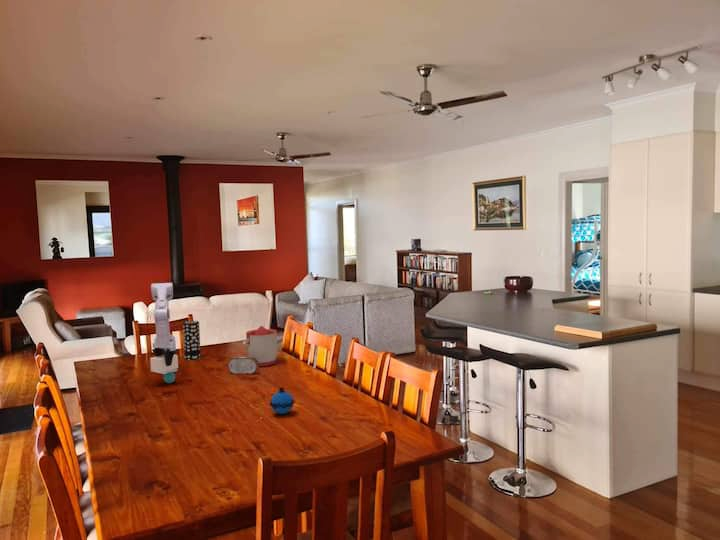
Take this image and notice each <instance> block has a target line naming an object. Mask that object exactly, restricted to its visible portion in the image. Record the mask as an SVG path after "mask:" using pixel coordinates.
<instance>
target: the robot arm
mask: <svg viewBox="0 0 720 540" xmlns="http://www.w3.org/2000/svg"><path fill="white" fill-rule="evenodd" d="M173 286H174V285H173V282H161V283H160V282H159V283H157V282H156V283H154V282H152V283H151V285H150V290H151V297H152V301H155V305H154V310H153V319H154V320H153V321H154V324H155V326H154V327H155V333H156V334H155V338H154V342H153V343H152V349H151V352H153V354H154V357H157V356H161V355H164V357H165V362H166V366H170V365H171V364H172V359H173V356H174V355H176V354H175V353H176V352H177V343H176V337H175V335H172V334H171V332H170V320H171V315H170V314H171V313H170V312H171V311H170V307H169V306H170V305H169V301H171V300H172V299H173V297H174V288H173ZM178 371H179V370H178V369H173V370H169V371H165V372H161V373H159V374H161V375H165V374H166V373H168V372H172V373H174V372H175V373H176V372H178Z"/></svg>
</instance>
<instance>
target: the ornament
mask: <svg viewBox="0 0 720 540" xmlns="http://www.w3.org/2000/svg"><path fill="white" fill-rule="evenodd" d="M294 403H295V402H294V398H293V396H292V395H291V394H290V393H289V392H288V391H285V389H284V387H283V386H281V387H279V391H277V392H275V393H274V394H273V396H272V397H271V399H270V402H269V406H270V407H271V409H272V411H273V412H275V413H276V414H278V415H284V414H285V415H286V414H288V413H289V412H290V411H291V410H292V408H293V406H294Z"/></svg>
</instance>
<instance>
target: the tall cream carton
mask: <svg viewBox="0 0 720 540" xmlns="http://www.w3.org/2000/svg"><path fill="white" fill-rule="evenodd" d="M149 361H150V372H151V373H157V374H160V373H161V372H165V371H169V370H173V369H176V370H178V369H179V355H178V354H174V356H173V359H172V364H171V365H170V366H166V362H165V357H164V355H161V356H157V357H155V356H152V357H150V360H149Z"/></svg>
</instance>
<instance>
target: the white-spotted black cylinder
mask: <svg viewBox="0 0 720 540" xmlns="http://www.w3.org/2000/svg"><path fill="white" fill-rule="evenodd" d="M182 329H183V331H182V332H183V351H184V352H183V353H184V360H185V361H188V360H192V361H197V360H196V359H198V360H200V359H201V358H202V357H201V356H202V355H201V352H202V351H201V336H200V333H201V332H200V321H198V320H191V321H184V322H182Z"/></svg>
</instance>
